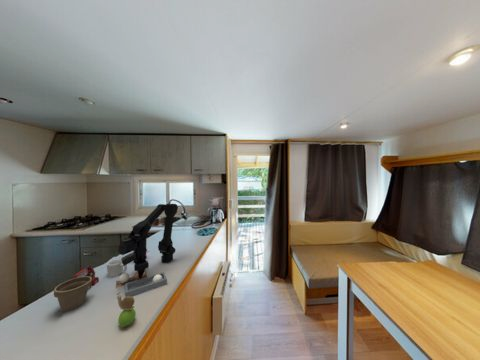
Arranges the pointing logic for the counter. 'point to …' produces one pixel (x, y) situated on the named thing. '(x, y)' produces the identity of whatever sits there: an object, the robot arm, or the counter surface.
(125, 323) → the snail figurine
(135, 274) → the ball terracotta
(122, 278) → the ball ivory rack
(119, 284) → the rack
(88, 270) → the toy fire truck
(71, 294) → the flower pot
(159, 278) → the ball ivory trough
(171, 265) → the counter surface
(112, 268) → the cup
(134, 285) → the trough
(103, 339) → the counter surface
